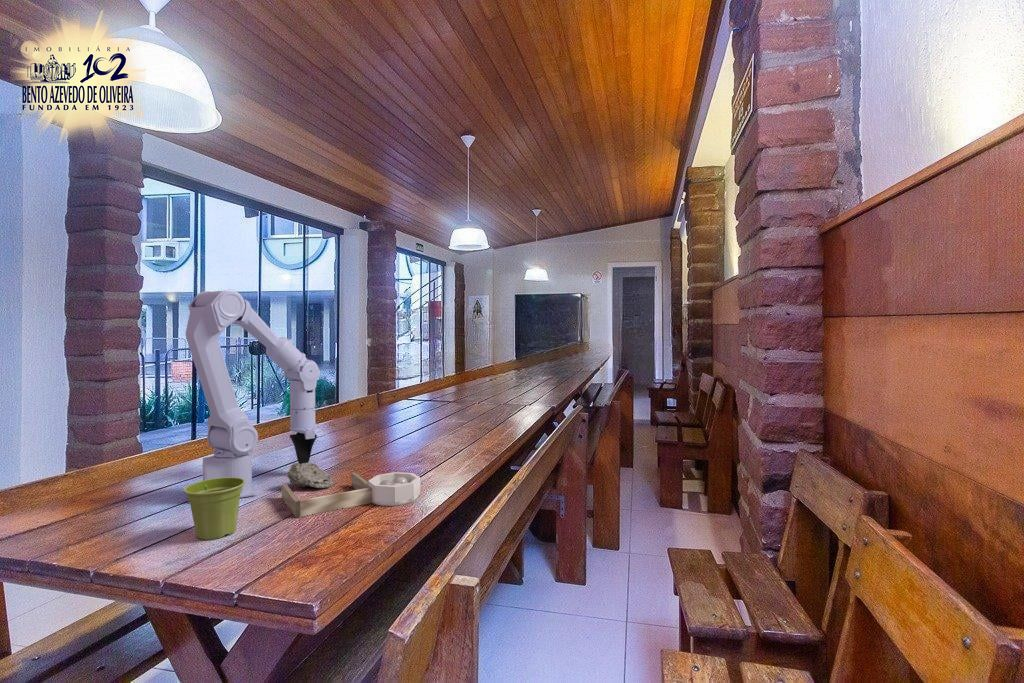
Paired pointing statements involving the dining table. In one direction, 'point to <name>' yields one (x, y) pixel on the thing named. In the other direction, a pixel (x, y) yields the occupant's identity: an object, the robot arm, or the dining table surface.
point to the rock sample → (309, 476)
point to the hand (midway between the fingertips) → (303, 463)
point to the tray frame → (329, 499)
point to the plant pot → (215, 506)
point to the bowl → (394, 489)
